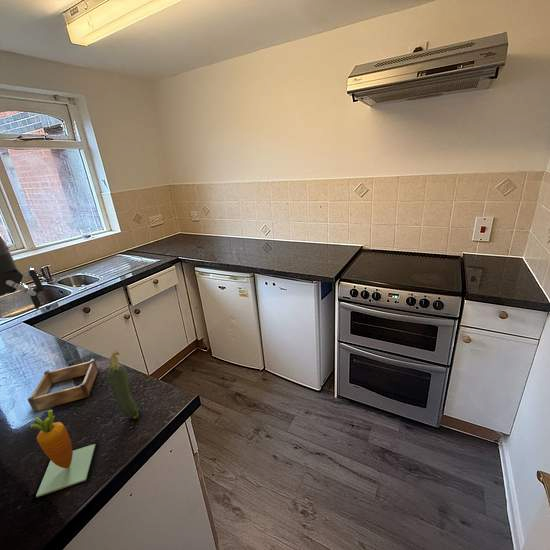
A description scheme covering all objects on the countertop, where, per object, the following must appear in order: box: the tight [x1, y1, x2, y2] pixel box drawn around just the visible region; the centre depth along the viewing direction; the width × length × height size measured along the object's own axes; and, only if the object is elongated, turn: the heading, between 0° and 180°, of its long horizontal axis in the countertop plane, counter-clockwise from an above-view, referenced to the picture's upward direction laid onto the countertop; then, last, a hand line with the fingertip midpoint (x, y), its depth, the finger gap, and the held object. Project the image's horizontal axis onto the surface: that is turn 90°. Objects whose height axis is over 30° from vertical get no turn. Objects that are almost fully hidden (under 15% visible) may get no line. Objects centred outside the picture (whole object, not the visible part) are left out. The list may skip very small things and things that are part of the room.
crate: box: [27, 358, 99, 413], centre depth 89 cm, size 14×13×4 cm
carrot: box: [29, 409, 74, 468], centre depth 62 cm, size 5×5×15 cm
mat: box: [35, 443, 96, 498], centre depth 65 cm, size 9×9×1 cm
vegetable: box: [106, 350, 139, 420], centre depth 74 cm, size 4×4×20 cm
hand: (16, 314), depth 76 cm, fingers open, 8 cm apart
